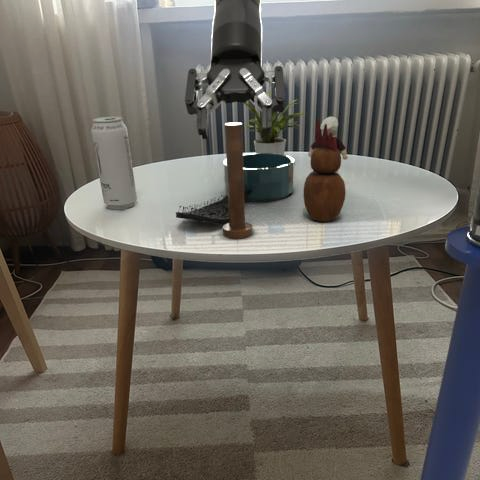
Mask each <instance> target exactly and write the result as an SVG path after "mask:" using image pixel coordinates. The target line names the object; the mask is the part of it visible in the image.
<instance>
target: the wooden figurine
mask: <svg viewBox="0 0 480 480" xmlns="http://www.w3.org/2000/svg"><path fill="white" fill-rule="evenodd" d="M332 137H333V136H332V132H330V133H329V136H328V132H327V124H325V125H324V130H323V131H322V130H321V123H320V120H319V119H317V120H316V125H315V141H314V142H315V149H314V150H313V152H312V154H311V157H310V168H311V170H312V171H310V172H309V174H308V175H307V176H306V177H305V180H304V183H303V192H302V193H303V194H302V195H303V203H304V206H305V210H306V212H307V215H308V216H309V218H310V219H311V220H314V221H317V222H332V221H335V219H337V218H338V216H339V215H340V213H341V211H342V209H343V207H344V204H345V200H346V185H345V184H346V183H345V181H344V179H343V178H342V176H341V175H340V174H339V170H340V168H341V166H342V154H341V152H340V151H339V150H338V149H337V142H336V138H337V137H336V138H333V140H332ZM337 171H338V173H336V172H337Z"/></svg>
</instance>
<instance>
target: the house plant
mask: <svg viewBox="0 0 480 480" xmlns="http://www.w3.org/2000/svg"><path fill="white" fill-rule="evenodd" d="M287 93H288V92H287V91H286V92H285V95H286V94H287ZM267 95H268V96H269V97H270V98H271V89H269V90H268V92H267ZM298 100H299V98H298V99H294V100H292V101H291V102H290V103H288V104H287V105H286V106H285V110H284V111H283V112H278V113H277V112H275V113H273V114H272V131H271V134H267V138H262V118H261V117H260V116H262V111H261V110H260V109H259V108H258V111H259V112H260V115H259V112H258V111H257V110H256V107H255V106H254V105H253V104H252V102H251V101H249V100H248V101H246V103H242V104H243V105H244V106H245V107H246V108H248V110H249V111H250V112H251V114H252V115H253V116H254V117H255V118H252V119H250V120H248V122H251V123H253V124H254V125H256V126H253V125H251V124H247V125H246V126H245V128H244V130H246V129H248V130H247V131H246V133H248V132H257V133H259V135H260V137H261V138H257V139H254V140H253V145H254V150H255V153H272V154H281V155H285V152H286V151H285V150H286V144H287V139H285V138H283V137H280V136H281V131H283V130H286V129H288V128H295V129H297V126H298V127H301V126H300V125H299V124H297V122H295V121H293V122H288V121H290V120H292V119H294V118H297V117H298V116H303V115H306V114H307V112H299V113H291V114H288V115H285V116H283V115H284V113H285V112H286V111H287V110H289V109H294V108H295V107H294V106H292V105H295V104H297V102H296V101H298ZM300 103H301V102H300V101H299V104H300ZM287 122H288V123H287ZM295 125H296V126H295ZM250 128H255V129H250Z"/></svg>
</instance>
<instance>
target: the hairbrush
mask: <svg viewBox="0 0 480 480" xmlns="http://www.w3.org/2000/svg"><path fill="white" fill-rule="evenodd" d="M249 194H251V189H244V196H246V195H249ZM221 197H222V198H221ZM220 198H221V199H220ZM216 199H217V201H216ZM198 207H199V208H198ZM189 208H190V209H189ZM179 210H181V211H182V212H180V211H176V212H175V218H176V219H183V220H189V221H195V222H200V223H205V224H206V223H207V224H213V225H222V226H223V225H225V224H227V223H229V203H228V194H227V195H226V196H223V195H222V194H221V196H219V197H218V198H217V197H214V199H212V198H211V199H210V203H209V201H203V204H200V205H196V203H195V204H194V205H193V204H192V205H189V207H188V206H182V205H179Z"/></svg>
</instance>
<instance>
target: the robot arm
mask: <svg viewBox="0 0 480 480" xmlns="http://www.w3.org/2000/svg"><path fill="white" fill-rule="evenodd" d="M261 1H262V0H214V12H213V13H214V14H213V19H212V24H211V25H212V26H211V49H210V50H211V51H210V66H209V67H210V68H209V70H208V71H207V73H206V72H204V73H203V72H201V73H200V72H199V73H198V72H197V70H196V68H190V69H189V70H188V73H187V80H186V87H185V95H184V103H185V107H186V111H187V114H188V115H190V116H193V115H196V130H197V133H198V136H201V138H202V140H208V139H209V118H210V117H209V115H210V114H211V113H212V112H213V111H214V110H217V109H218V108H219V106H221V104H222V103H223V102H224V103H225V104H233V103H239V104H240V103H241V104H243V103H247V101H248V102H250V103H251V104H252V106H253V107H254V108H255V109H258V110H259V109H260V110H261V111H262V115H261V122H262V137H261V138H267V134H271V131H272V114H273V113H275V112H276V113H277V112H278V113H279V112H281V113H282V112H283V111H284V110H285V107H286V106H285V105H286V104H285V102H286V94H285V93H286V92H285V79H284V68H283V66H281V65H276V66H275V67H274V70H267V71H266V70H264V69H263V67H262V65H263V24H262V17H261V13H262V12H261V11H262V7H261V5H262V3H261ZM265 82H267V83H268V84H269V87H271V89H273V90H274V93H275V94H274V96H275V97H274V98H271V96H270V97H269V96H268V93H266V91H265V90H264V87H263V86H264V84H265ZM206 84H207V85H208V87H207V88H206V90H205V92H204V94H203V95H202V96H201V97H200V98H199V100H198V95H199V92H201V91H202V89H203V87H204V86H205V85H206ZM260 110H259V111H260ZM472 210H473V211H472V215H471V221H470V223H469V226H470V227H469V232H468V235H467V241H468V242H469V243H470V244H471V245H473V246H475V247H477V248H479V249H480V180H479V181H478V186H477V192H476V195H475V201H474V205H473V209H472Z"/></svg>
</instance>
